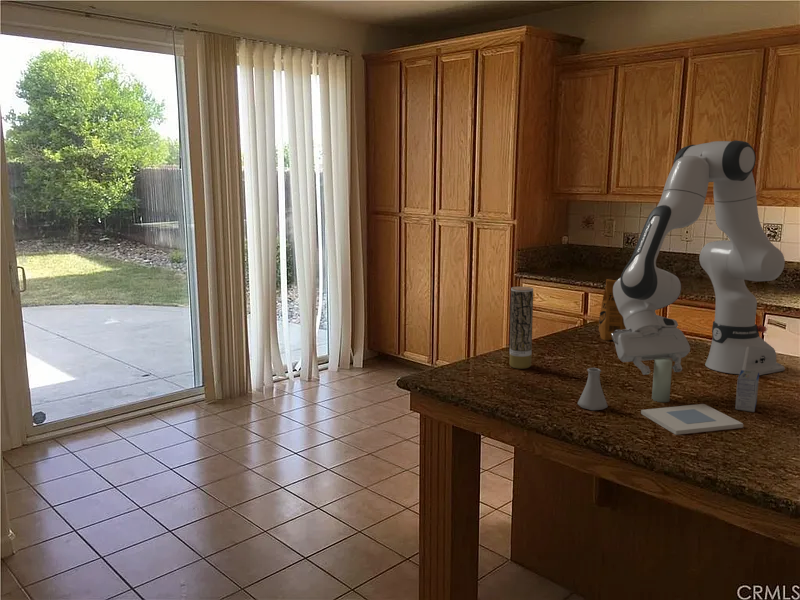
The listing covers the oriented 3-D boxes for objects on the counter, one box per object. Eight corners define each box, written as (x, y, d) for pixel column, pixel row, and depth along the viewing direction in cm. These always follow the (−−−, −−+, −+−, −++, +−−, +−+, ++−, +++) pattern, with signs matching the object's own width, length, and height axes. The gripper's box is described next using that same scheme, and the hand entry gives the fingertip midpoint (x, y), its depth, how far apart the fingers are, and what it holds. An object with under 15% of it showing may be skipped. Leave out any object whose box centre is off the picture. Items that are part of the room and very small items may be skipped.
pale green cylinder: (662, 396, 176) (665, 357, 174) (672, 401, 172) (675, 361, 170) (648, 397, 175) (651, 358, 173) (658, 403, 171) (661, 362, 169)
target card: (703, 407, 168) (703, 403, 167) (742, 427, 154) (743, 423, 154) (641, 413, 164) (641, 409, 163) (675, 434, 150) (676, 430, 150)
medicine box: (754, 412, 164) (757, 379, 162) (734, 409, 166) (737, 377, 164) (756, 403, 170) (759, 371, 168) (737, 400, 172) (740, 369, 171)
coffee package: (597, 334, 244) (600, 276, 240) (631, 335, 242) (635, 277, 238) (600, 341, 234) (603, 281, 230) (636, 342, 232) (640, 281, 228)
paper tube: (531, 370, 201) (533, 290, 196) (508, 369, 202) (510, 290, 198) (531, 363, 208) (533, 286, 203) (509, 362, 209) (511, 286, 204)
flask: (592, 413, 165) (593, 375, 163) (572, 404, 171) (573, 367, 169) (613, 408, 168) (615, 371, 166) (592, 399, 174) (594, 363, 172)
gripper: (614, 324, 175) (632, 369, 167) (681, 319, 179) (702, 363, 171) (605, 336, 180) (622, 380, 172) (670, 332, 184) (690, 375, 177)
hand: (662, 372), depth 172 cm, fingers open, 8 cm apart
